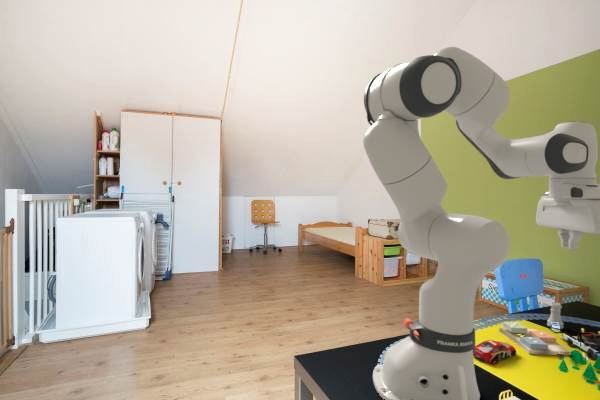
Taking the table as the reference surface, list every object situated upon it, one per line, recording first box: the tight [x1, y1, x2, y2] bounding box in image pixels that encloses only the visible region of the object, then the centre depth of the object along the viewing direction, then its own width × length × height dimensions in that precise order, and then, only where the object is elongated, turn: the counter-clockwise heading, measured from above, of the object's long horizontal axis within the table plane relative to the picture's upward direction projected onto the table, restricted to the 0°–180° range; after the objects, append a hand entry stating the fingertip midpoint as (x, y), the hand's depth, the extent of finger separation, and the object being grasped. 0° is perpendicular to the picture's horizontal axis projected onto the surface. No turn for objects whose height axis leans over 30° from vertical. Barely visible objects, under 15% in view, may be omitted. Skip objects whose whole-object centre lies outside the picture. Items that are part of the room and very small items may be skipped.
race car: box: [473, 339, 517, 364], centre depth 89 cm, size 13×5×4 cm, turn 114°
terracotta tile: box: [529, 330, 557, 343], centre depth 97 cm, size 5×5×2 cm
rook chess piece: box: [546, 301, 565, 330], centre depth 108 cm, size 4×4×8 cm
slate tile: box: [520, 337, 548, 350], centre depth 92 cm, size 5×5×2 cm
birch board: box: [498, 327, 572, 356], centre depth 97 cm, size 11×15×1 cm
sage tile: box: [502, 321, 528, 333], centre depth 101 cm, size 5×5×2 cm
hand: (569, 248), depth 79 cm, fingers closed
